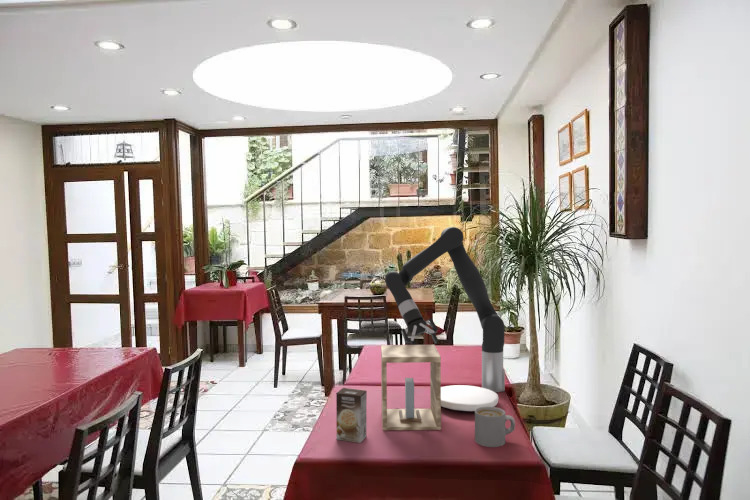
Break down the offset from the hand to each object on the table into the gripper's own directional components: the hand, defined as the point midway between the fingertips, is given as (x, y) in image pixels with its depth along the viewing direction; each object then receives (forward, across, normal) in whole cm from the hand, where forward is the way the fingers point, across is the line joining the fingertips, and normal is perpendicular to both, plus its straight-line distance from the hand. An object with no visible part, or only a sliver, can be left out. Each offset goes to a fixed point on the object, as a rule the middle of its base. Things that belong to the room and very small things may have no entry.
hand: (427, 346), depth 214 cm
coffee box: (+25, -43, -14) cm, 51 cm away
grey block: (+24, -19, -2) cm, 31 cm away
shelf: (+25, -19, -2) cm, 31 cm away
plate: (+25, +7, +11) cm, 28 cm away
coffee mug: (+45, +1, -19) cm, 49 cm away
